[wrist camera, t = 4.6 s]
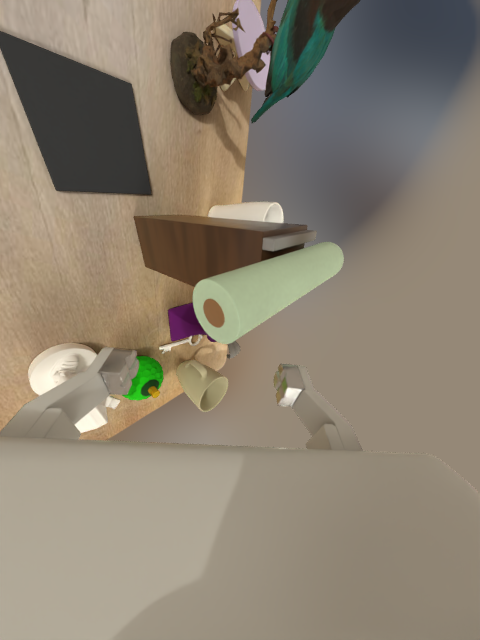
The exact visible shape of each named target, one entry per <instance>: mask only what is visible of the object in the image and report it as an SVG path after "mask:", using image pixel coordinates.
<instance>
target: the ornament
mask: <svg viewBox="0 0 480 640" xmlns="http://www.w3.org/2000/svg"><path fill="white" fill-rule="evenodd" d="M136 358H137V359H138V360H139V369H138V372H137V375H136V377H134V378H133V379H132V380H131V381H132V385H131V388H130V390H129V392H128V394H127V395H122V396H124V397H126V398H129V400H142V399H147V398H148V397H150V396H152V397H153V398H156V397H158V396H159V394H160V392H159V391H158V389H159V388H160V386H161V383H162V381H163V378H164V377H163V370H162V367H161V365H160V364H159V362H158V361H156V360H155V359H153V358H150V357H148V356H137V357H136Z"/></svg>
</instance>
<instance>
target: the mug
mask: <svg viewBox="0 0 480 640" xmlns="http://www.w3.org/2000/svg"><path fill="white" fill-rule="evenodd" d="M176 375H177V377H178V379H179V381H180V384H181V386H182V388H183V390H184V391H185V393H186V394H187V395H188V396H189V398H190V399H191V400H192V401H193V402H194V403H195V405H196V406H197V407H198V408H199V409H200V410H201V411H203V412H207V411H209V410H211V409H213V408H214V407H215V406H216V405H217V404H218V403H219V402H220V401H221V400H222V398H223V397H224V395H225V393H226V391H227V388H228V380H227V378H226V377H225V376H223V375H221V374H220V373H218V372H216V371H215V370H213V369H211V368H210V367H208V366H206V365H203V364H201V363H199V362H198V361H196V360H190V361H184V362H182V363H181V364H180V365H179V366H178V368H177V371H176Z"/></svg>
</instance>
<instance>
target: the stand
mask: <svg viewBox="0 0 480 640" xmlns="http://www.w3.org/2000/svg"><path fill="white" fill-rule="evenodd" d="M134 220H135V224H136V228H137V233H138V237H139V241H140V246H141V250H142V254H143V258H144V263H145V267H147V268H150V269H152V270H155V271H157V272H160V273H162V274H165V275H167V276H169V277H172V278H174V279H177V280H179V281H182V282H184V283H187V284H189V285H192V286H194V287H195V286H196V284H197V283H198V282H199V281H201V280H203V279H206V278H210V277H213V276H216V275H219V274H223V273H226V272H229V271H232V270H236V269H239V268H242V267H245V266H248V265H252V264H255V263H258V262H261V261H265V260H268V259H271V258H274V257H277V256H281V255H284V254H287V253H290V252H294V251H297V250H300V249H303V248H304V243H306V242H310V241H313V240H315V238H316V232H317V231H312V230H307V225H298V224H285V223H274V222H262V221H250V220H238V219H226V218H214V217H202V216H190V215H160V216H134Z"/></svg>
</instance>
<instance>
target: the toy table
mask: <svg viewBox="0 0 480 640" xmlns="http://www.w3.org/2000/svg"><path fill="white" fill-rule="evenodd" d="M237 8H238V9H239V15H238V16H237V18H236V19H238V18H239V20H240V23H241V26H242V28H243V29H244V31H245V32H244V31H242V30H241V29H240V28H239V27H238V29H237V31H235V30H234V29H233V30H232V29H230V28H229V27H228V26H226V25H225V24H223V25H221V26H219V27H216V35H218V36H221V37H224V38H226V39H227V40H230V39H232V43H230V42H228V41H225V40H223V39H220V38H217V39H218V41H219V43H220V45H221V44H222V45H224V46H225V45H228V44H230V46H231V49H232V51H234V52H235V57H238V58H240V57H241V56H244V54H245V53H247V52H249V51H251V50H252V49H253V47H254V46H253V44H254V43H255V42H256V39H257V38H258V37H259V36H260V35H261V34H262V33H263V32H265V28H264V24H263V22H262V19H261V17H260V14H259V12H258V10H257V8H256V6H255V5H254V3H253V2H252V0H236V2H235V4H234V7H233V11H235V10H236V9H237ZM232 19H233V18H232ZM236 19H235V21H236ZM216 22H217V21H216ZM232 26H233V28H236V27H237V25H235V24H234V23H233V22H232ZM213 31H214V29H213ZM214 33H215V31H214ZM268 52H269V51H268ZM261 59H262V60H263V61H264V63H265V64H266V66H265V67H264V68H263V69H262V70H261V71H260V72H259V73H256V70H253V69H251V70H249V71H248V72H246V73H245V75H244V76H243V77H242V79H238V80H239V82H240V84H241V86H242V88H243V90H244V91H247V90H248V87H249V85H251V86H252V87H253V88H254V89H255V90H257V91H262V90H265V89H266V80H267V75H268V70H269V64H270V52H269V54H268V55H267V54H266V52H265V53H262V55H261ZM235 79H236V78H233V80H232V82H231V84H232V83H233V82H234V81H235ZM230 86H231V85H228V84H224V85H222V86H220V87H221V89H222V90H223V91H226V90H227V89H228V88H229V87H230Z"/></svg>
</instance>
